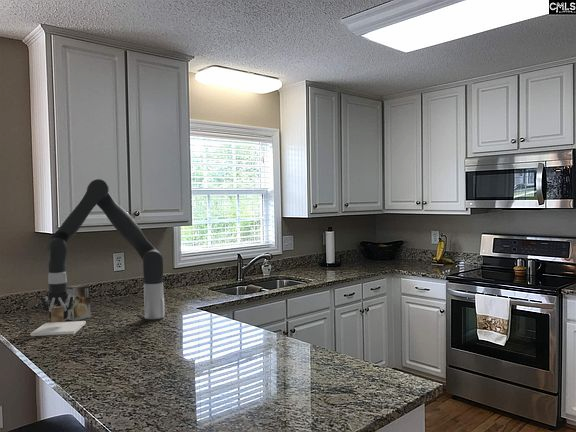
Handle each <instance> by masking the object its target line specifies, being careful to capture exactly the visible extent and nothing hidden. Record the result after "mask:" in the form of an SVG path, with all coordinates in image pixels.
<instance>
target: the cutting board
mask: <svg viewBox="0 0 576 432" xmlns="http://www.w3.org/2000/svg"><path fill="white" fill-rule="evenodd" d="M86 324H87V322H86V320H81V321H80V320H77V321H64V322H45V323H43V324H42V325H41V326H39V327H38V328H36V329H35V330H33V331H32V332H30V337H36V336H37V337H39V336H58V335H59V336H60V335H75V334H76V333H77V332H78V331H80V329H81V328H82V327H83V326H85V325H86Z"/></svg>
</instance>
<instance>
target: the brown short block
mask: <svg viewBox="0 0 576 432" xmlns="http://www.w3.org/2000/svg"><path fill="white" fill-rule="evenodd" d="M66 321H67V319H64V308H63V307H62V306H61V305H60V306H59V305H58V306H54V308H52V309H51V319H50V323H54V322H66Z"/></svg>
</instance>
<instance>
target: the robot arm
mask: <svg viewBox="0 0 576 432" xmlns="http://www.w3.org/2000/svg"><path fill="white" fill-rule="evenodd" d="M109 187H110V186H109V184H108V183H107V181H105V180H103V179H100V178H98V179H94V180H91V182H90V183H89V184H88V185H87V187H86V191H85V192H84V193H85V194H84V195H83V197H82V199H81V200H80V202H78V204H77V205H76V207H74V209H73V210H72V211H71V212H70V213H69V214H68V216H67V218H66V219H65V220H64V221H63V223H62V224H61V225H60V227H59V228H58V229H57V230H56V231H54V233H53V234H52V235H51V237H50V238H49V239H48V240H47V241H46V248H47V250H48V252H49V253H50V254H49V255H50V257H49V261H48V278H47V282H48V295H47V296H43V297H41V302H42V306H43V310H44V311H45V312H46V311H48V314H49V317H48V318H49V319H50V320H51V309H52V308H54V307H56V306H57V305H58V306H59V305H60V306H62V307H63V308H64V319H66V320H68V310H70V309H71V308H72V307H73V303H74V298H75V296H69V295H68V294H67V287H68V276H67V265H66V259H67V253H68V246H67V243H68V242H69V240H70V239H71V238H74V236H75V235H76V233H77V232H78V231H79V230H80V229H81V227H82V226H83V224H84V223H85V221H86V219H87V218H88V216H89V214H91V211H92V210H93V209H94V208H95V207H96V206H98V207H99V209H100V210H102V212H103V214H104V215H105V216H106V217H107V219H108V220H109V222H110V223H111V225H112V226H113V227H114V229H115V230H116V232H118V234H120V236H121V237H122V238H123V239H124V240H125V242H127V243H128V244H129V245H131V247H133V248H134V250H136V252H137V254H138V255H139V256H140V258H141V259H142V267H143V269H142V271H143V272H142V273H143V300H144V302H143V303H144V319H145V320H158V319H159V320H160V319H164V318H165V315H166V313H165V296H164V260H163V259H164V258H163V255H162V253H161V252H160V251H159V250H158V249H157V248H156V247H155V246H154V245H152V243H151V242H150V241H149V240H148V239H147V237H146V236H145V234H144V233H143V230H142V229H141V227H140V226H139V225H138V224H137V222H136V221H135V219H134V218H133V217H132V216H131V214H130V213H128V212H127V211H126V209H124V208H123V207H122V206H121V205H119V204H118V203H117V202H116V201H115V199H114V198H113V197H112V195H111V194H110V192H109V191H110V188H109ZM67 298H68V299H69V301H70V302H69V306H67ZM48 301H50V305H49V302H48Z"/></svg>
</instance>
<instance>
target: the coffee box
mask: <svg viewBox="0 0 576 432" xmlns="http://www.w3.org/2000/svg"><path fill="white" fill-rule="evenodd" d="M90 289H91V288H90V284H89V285H88V284H79V285H72V286H67V294H68V295H69V296H75V298H74V303H73V307H72V308H71V309H70V310H68V317H67V320H70V321H71V322H74V321H80V320H81V321H82V320H85V319H89V318H92V308H91V290H90ZM69 302H70V301H69V299H68V298H67V299H66V303H67V306H69Z"/></svg>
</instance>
